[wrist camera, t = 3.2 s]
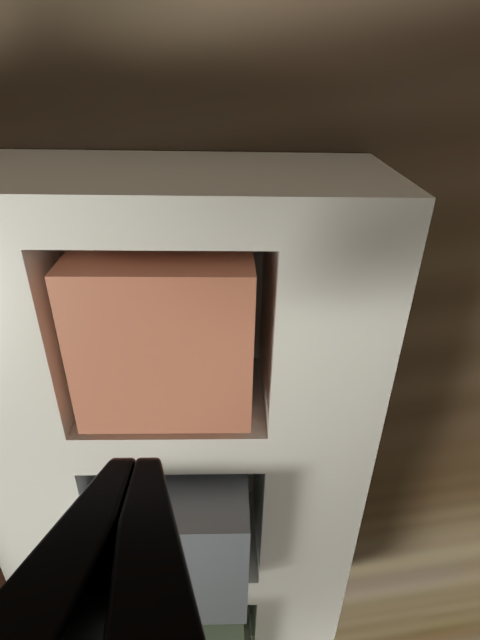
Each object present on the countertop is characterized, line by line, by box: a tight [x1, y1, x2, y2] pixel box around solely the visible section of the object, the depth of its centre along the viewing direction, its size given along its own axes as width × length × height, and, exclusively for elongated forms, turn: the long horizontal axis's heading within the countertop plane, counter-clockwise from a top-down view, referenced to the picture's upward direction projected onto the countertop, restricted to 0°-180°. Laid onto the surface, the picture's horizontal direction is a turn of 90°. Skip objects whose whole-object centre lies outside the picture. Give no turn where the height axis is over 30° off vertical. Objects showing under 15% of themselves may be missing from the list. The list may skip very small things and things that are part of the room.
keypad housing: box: [0, 149, 436, 640], centre depth 16 cm, size 22×15×7 cm
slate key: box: [165, 474, 251, 625], centre depth 15 cm, size 5×5×4 cm
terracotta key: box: [45, 250, 257, 434], centre depth 13 cm, size 5×5×4 cm
